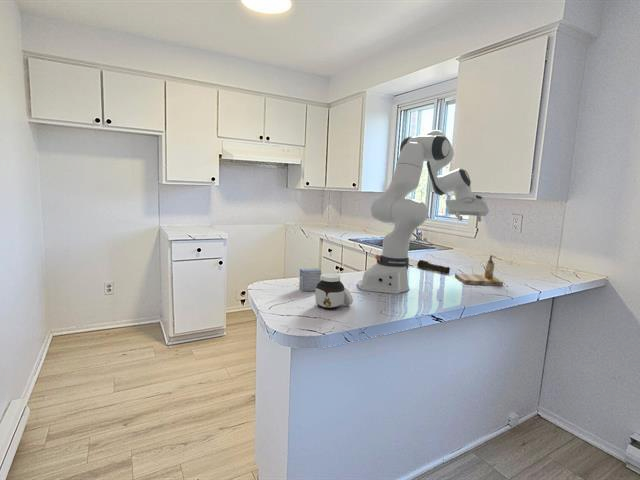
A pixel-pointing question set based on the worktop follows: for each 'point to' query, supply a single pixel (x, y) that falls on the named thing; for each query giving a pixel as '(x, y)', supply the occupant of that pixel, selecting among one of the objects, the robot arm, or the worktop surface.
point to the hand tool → (433, 267)
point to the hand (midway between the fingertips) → (470, 220)
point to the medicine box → (309, 279)
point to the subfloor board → (478, 279)
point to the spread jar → (332, 292)
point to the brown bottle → (489, 268)
